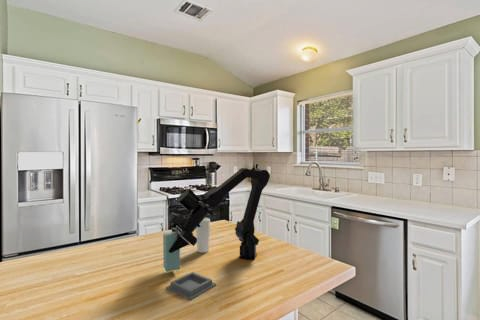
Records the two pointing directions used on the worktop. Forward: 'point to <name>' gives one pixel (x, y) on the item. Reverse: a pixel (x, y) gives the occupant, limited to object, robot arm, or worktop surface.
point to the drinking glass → (203, 236)
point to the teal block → (170, 258)
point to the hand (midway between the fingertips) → (167, 250)
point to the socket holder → (191, 285)
